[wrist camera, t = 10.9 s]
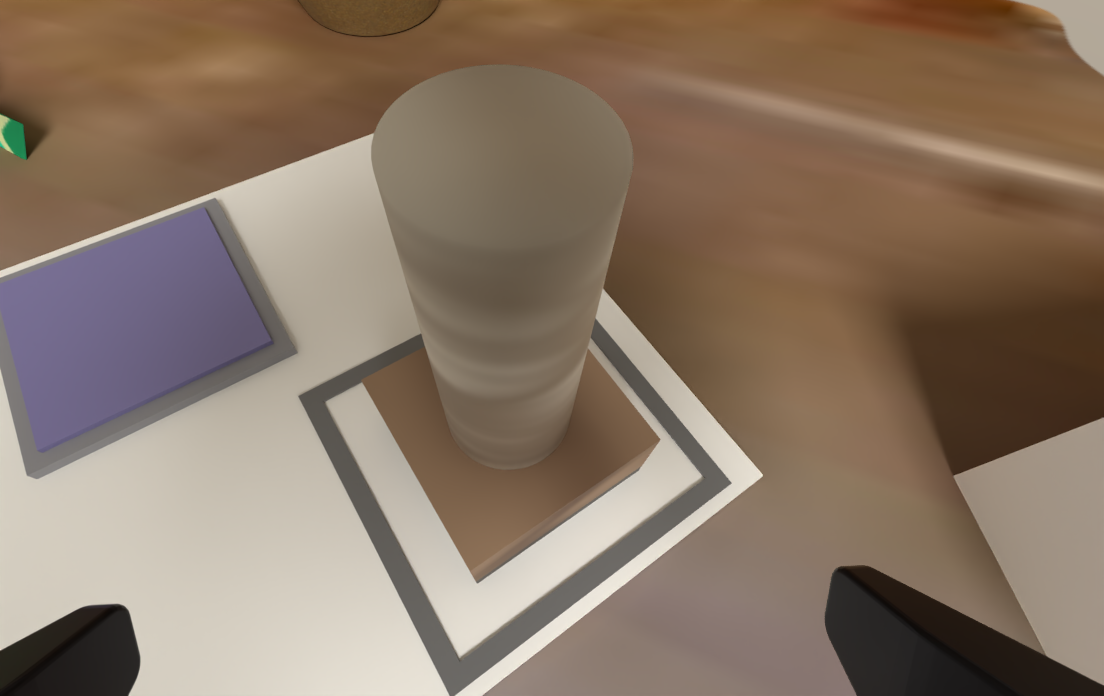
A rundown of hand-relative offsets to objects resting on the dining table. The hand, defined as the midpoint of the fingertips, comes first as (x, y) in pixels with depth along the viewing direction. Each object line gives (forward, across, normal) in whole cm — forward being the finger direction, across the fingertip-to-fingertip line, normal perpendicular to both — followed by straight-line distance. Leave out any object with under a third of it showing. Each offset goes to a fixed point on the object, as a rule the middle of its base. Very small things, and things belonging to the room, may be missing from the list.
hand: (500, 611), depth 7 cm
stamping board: (+12, +6, +2) cm, 14 cm away
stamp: (+10, 0, +3) cm, 11 cm away
